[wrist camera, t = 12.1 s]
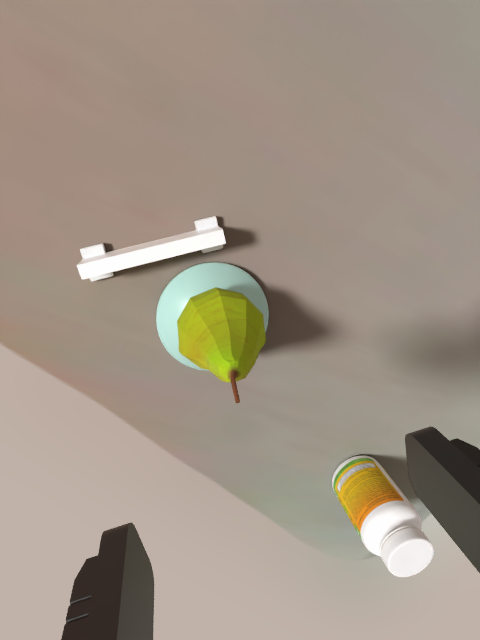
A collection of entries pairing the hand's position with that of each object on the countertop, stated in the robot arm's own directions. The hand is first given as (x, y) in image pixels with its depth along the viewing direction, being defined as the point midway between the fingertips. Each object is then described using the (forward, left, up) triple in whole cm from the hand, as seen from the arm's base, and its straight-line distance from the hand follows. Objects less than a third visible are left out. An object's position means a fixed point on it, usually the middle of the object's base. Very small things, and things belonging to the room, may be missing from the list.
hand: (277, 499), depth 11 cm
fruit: (-1, +2, -22) cm, 22 cm away
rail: (+3, -5, -22) cm, 23 cm away
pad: (0, +2, -22) cm, 22 cm away
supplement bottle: (-10, +22, -22) cm, 33 cm away
